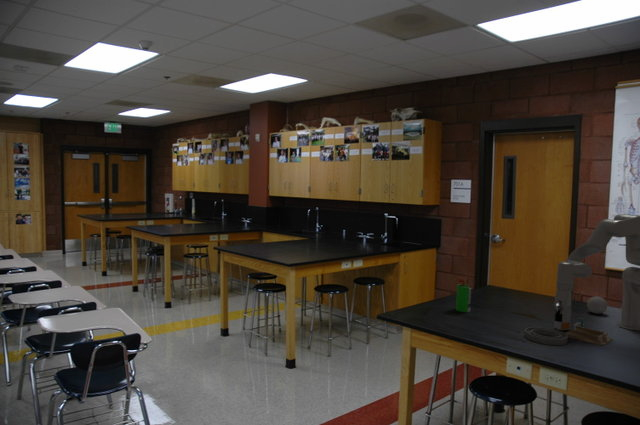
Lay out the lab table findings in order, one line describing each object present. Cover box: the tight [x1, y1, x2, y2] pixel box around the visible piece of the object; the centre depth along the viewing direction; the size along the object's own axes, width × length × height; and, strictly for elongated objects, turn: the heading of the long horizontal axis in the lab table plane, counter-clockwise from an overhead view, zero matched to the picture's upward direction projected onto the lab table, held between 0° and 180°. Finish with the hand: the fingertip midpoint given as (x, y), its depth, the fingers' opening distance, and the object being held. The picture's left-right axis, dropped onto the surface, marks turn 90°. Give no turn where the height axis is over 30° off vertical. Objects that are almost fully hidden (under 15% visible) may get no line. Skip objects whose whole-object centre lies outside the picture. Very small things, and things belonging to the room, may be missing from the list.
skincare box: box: [553, 305, 572, 331], centre depth 237 cm, size 6×4×12 cm
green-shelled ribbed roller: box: [455, 278, 472, 313], centre depth 267 cm, size 9×8×18 cm
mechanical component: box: [524, 326, 569, 346], centre depth 221 cm, size 18×18×3 cm
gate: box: [571, 317, 585, 330], centre depth 235 cm, size 12×2×4 cm, turn 133°
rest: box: [564, 326, 613, 347], centre depth 224 cm, size 14×18×4 cm
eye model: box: [586, 295, 608, 315], centre depth 269 cm, size 10×10×10 cm
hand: (562, 319), depth 237 cm, fingers open, 9 cm apart
